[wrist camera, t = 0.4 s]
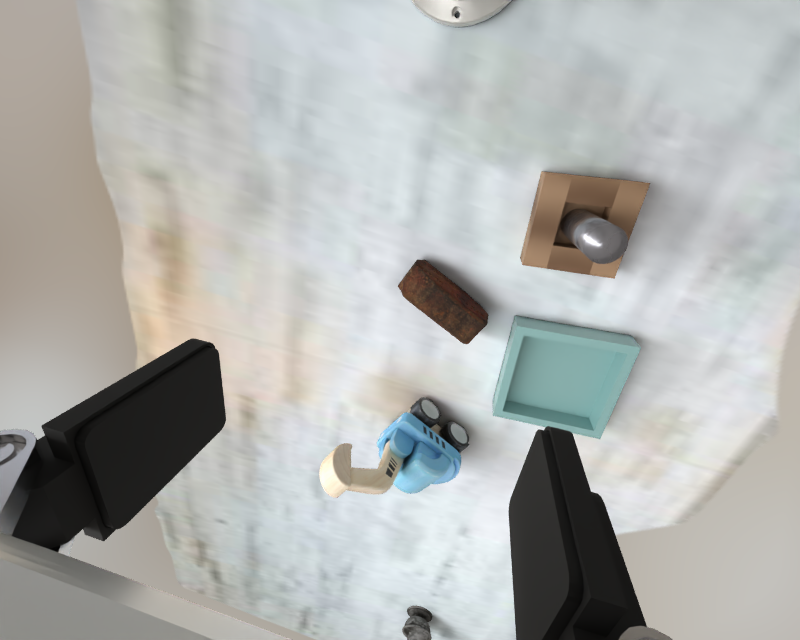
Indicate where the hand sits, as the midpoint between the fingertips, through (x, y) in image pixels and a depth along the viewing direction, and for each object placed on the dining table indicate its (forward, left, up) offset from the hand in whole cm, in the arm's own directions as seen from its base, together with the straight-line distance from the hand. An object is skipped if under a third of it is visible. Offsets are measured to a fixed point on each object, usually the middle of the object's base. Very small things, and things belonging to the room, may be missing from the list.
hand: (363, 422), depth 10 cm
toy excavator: (+28, -2, -34) cm, 44 cm away
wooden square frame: (-2, +12, -33) cm, 35 cm away
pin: (-2, +12, -32) cm, 35 cm away
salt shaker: (+79, +5, -34) cm, 86 cm away
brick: (+8, 0, -34) cm, 35 cm away
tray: (+16, +15, -33) cm, 40 cm away
